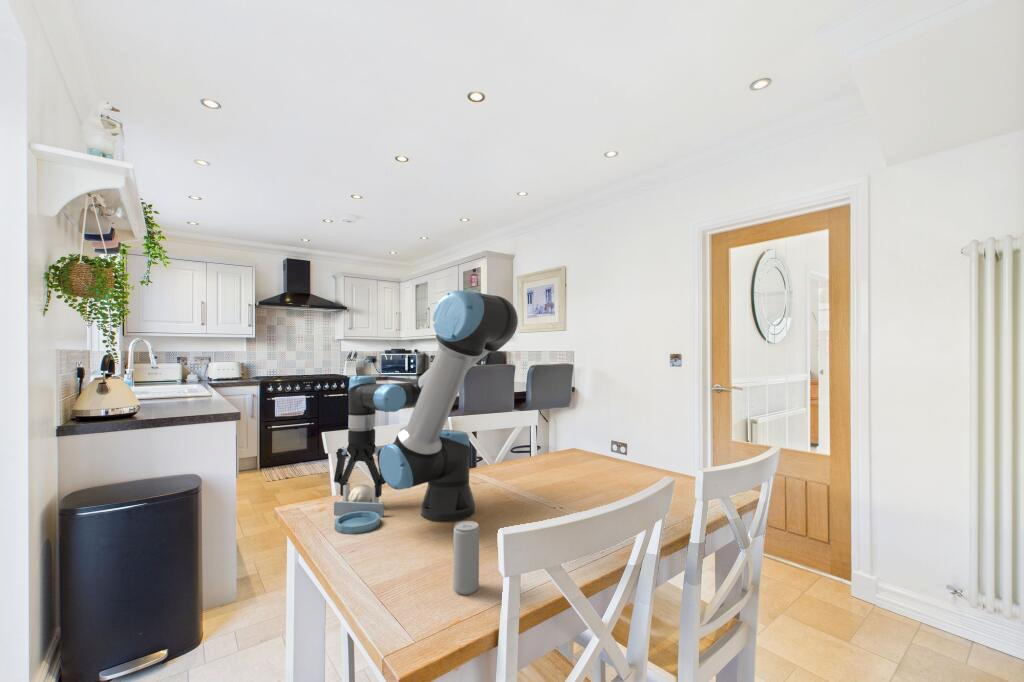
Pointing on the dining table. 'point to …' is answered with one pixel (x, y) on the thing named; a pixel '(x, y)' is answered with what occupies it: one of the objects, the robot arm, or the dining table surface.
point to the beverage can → (466, 557)
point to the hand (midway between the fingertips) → (360, 507)
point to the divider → (357, 507)
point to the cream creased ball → (361, 494)
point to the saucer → (357, 522)
